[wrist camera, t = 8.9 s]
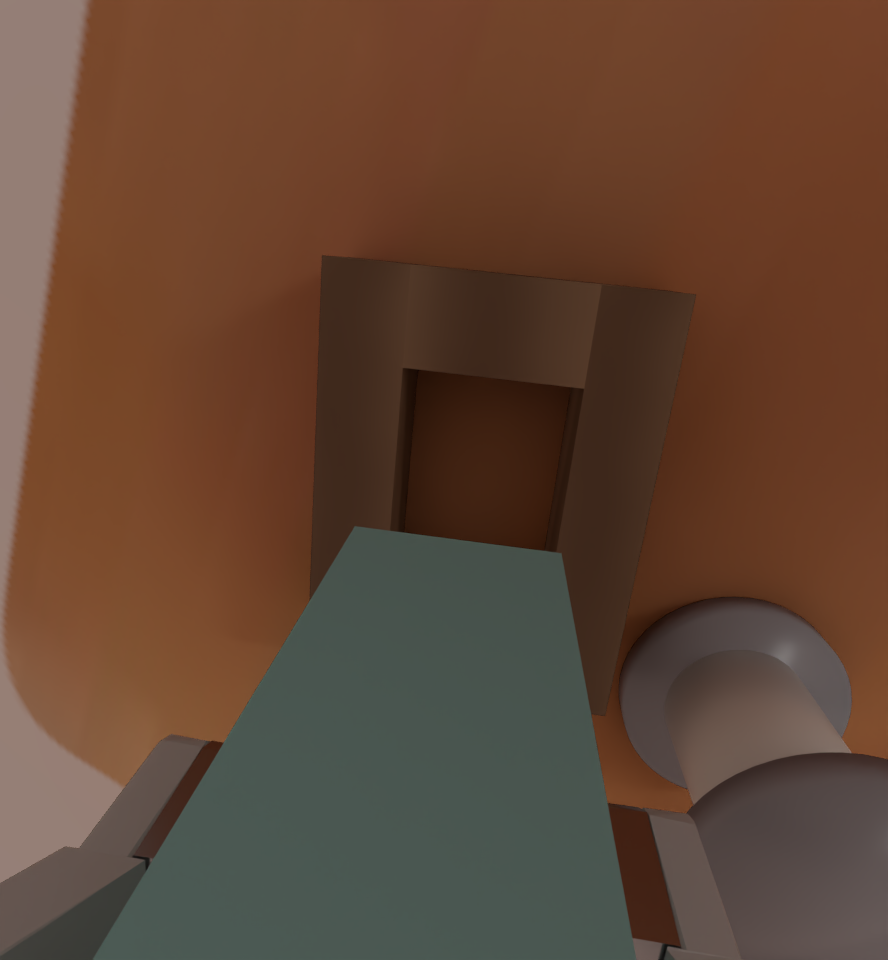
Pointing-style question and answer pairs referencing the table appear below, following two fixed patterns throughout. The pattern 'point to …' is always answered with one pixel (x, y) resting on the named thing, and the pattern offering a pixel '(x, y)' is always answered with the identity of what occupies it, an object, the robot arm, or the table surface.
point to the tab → (401, 780)
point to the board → (510, 356)
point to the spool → (767, 774)
